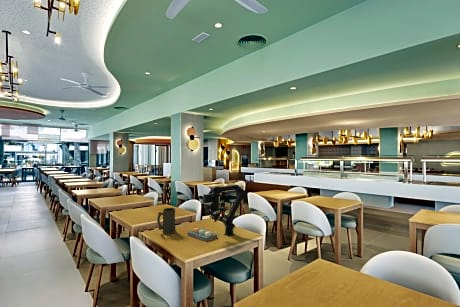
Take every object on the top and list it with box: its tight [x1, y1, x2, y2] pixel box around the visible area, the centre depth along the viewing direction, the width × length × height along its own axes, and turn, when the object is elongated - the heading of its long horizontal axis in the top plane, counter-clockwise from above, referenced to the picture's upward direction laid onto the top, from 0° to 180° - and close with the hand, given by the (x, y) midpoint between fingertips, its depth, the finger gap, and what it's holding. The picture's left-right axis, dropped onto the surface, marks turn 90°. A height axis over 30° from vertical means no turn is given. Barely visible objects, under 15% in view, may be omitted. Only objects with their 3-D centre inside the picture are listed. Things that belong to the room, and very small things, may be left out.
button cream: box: [205, 231, 212, 237], centre depth 194 cm, size 5×5×4 cm
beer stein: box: [156, 207, 177, 235], centre depth 208 cm, size 15×11×20 cm
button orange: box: [193, 227, 200, 233], centre depth 203 cm, size 5×5×4 cm
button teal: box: [199, 229, 206, 235], centre depth 198 cm, size 5×5×4 cm
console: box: [187, 229, 218, 242], centre depth 198 cm, size 12×22×2 cm, turn 47°
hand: (215, 221), depth 197 cm, fingers closed
